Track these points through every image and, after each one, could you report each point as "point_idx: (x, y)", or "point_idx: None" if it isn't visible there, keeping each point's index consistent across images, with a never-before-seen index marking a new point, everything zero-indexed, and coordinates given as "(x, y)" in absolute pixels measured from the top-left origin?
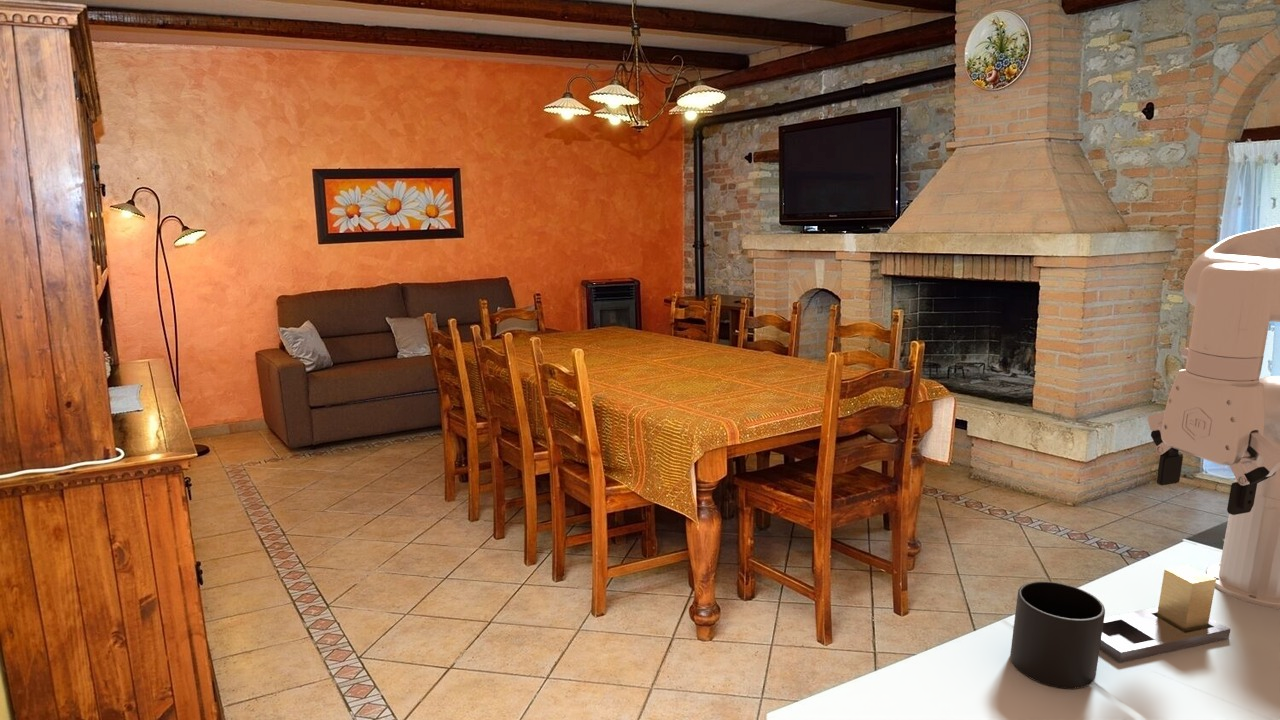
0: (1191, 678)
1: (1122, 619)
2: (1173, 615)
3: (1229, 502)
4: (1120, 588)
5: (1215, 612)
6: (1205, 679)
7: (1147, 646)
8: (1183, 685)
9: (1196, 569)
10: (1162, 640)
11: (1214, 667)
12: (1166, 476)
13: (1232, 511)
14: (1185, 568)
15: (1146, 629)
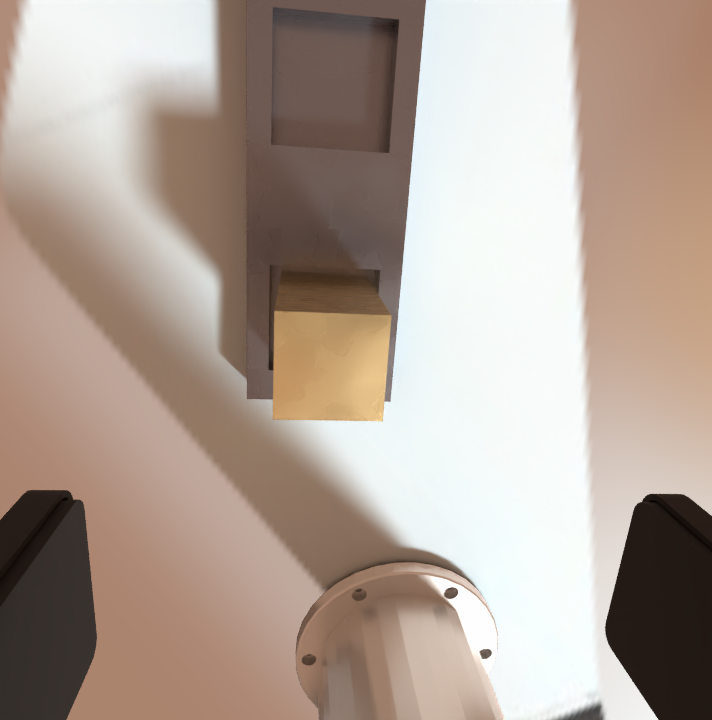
0: (150, 138)
1: (387, 155)
2: (321, 282)
3: (21, 540)
4: (538, 368)
5: (362, 480)
6: (137, 171)
7: (249, 83)
8: (129, 81)
9: (347, 418)
10: (259, 161)
11: (175, 249)
12: (674, 569)
13: (19, 502)
14: (366, 389)
15: (321, 173)
